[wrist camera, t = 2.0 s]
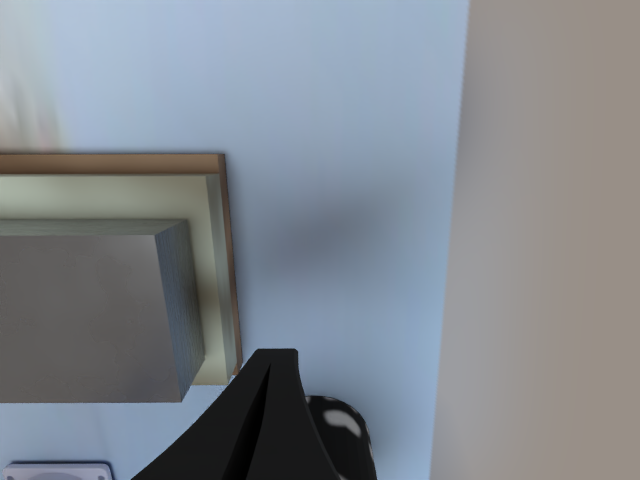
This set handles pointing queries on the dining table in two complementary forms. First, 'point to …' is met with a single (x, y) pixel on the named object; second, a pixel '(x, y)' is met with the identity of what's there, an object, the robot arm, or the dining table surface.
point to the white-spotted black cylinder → (343, 437)
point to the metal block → (97, 311)
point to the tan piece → (145, 203)
